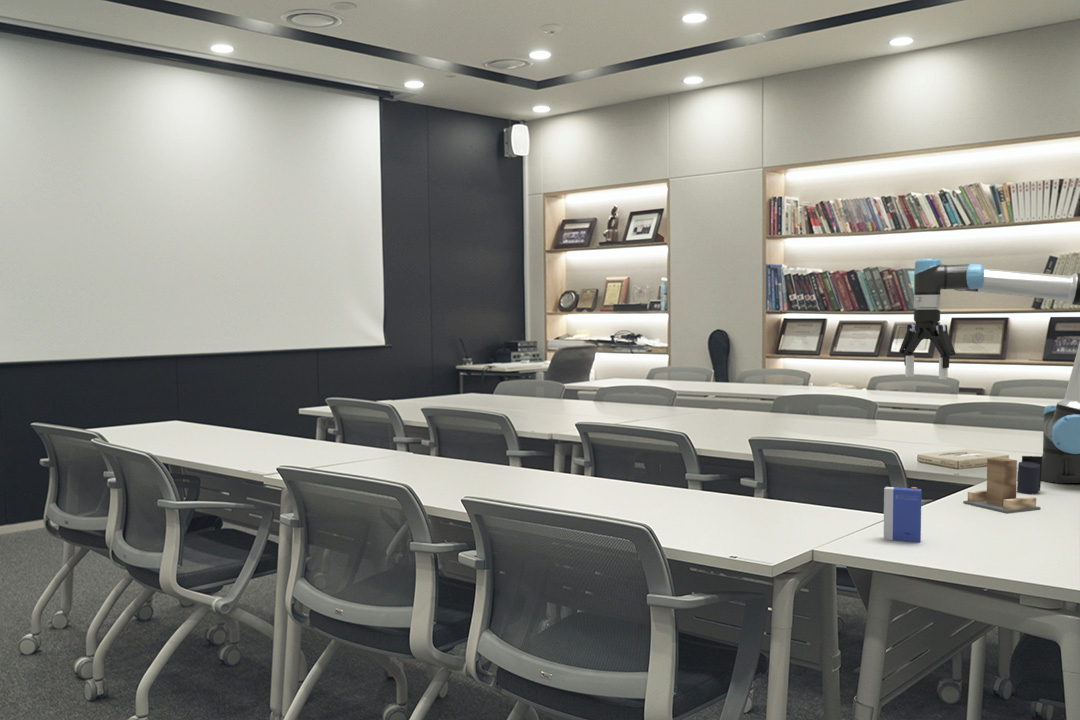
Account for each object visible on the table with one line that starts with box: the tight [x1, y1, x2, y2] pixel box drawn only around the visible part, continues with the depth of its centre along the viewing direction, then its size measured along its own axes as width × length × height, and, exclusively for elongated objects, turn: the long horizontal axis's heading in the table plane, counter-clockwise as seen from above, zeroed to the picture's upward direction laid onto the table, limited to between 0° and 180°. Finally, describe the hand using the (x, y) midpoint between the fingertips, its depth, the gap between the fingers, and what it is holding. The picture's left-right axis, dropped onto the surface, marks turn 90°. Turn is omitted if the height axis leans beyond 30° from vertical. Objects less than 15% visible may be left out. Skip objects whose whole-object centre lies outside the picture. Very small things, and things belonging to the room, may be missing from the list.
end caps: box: [967, 489, 1037, 510], centre depth 246 cm, size 10×13×2 cm
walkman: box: [883, 486, 922, 543], centre depth 210 cm, size 8×3×12 cm, turn 65°
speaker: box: [1016, 455, 1042, 495], centre depth 265 cm, size 8×6×10 cm
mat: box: [962, 500, 1041, 514], centre depth 246 cm, size 12×14×1 cm
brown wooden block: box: [986, 457, 1018, 507], centre depth 246 cm, size 5×5×12 cm
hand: (925, 377), depth 285 cm, fingers open, 13 cm apart
